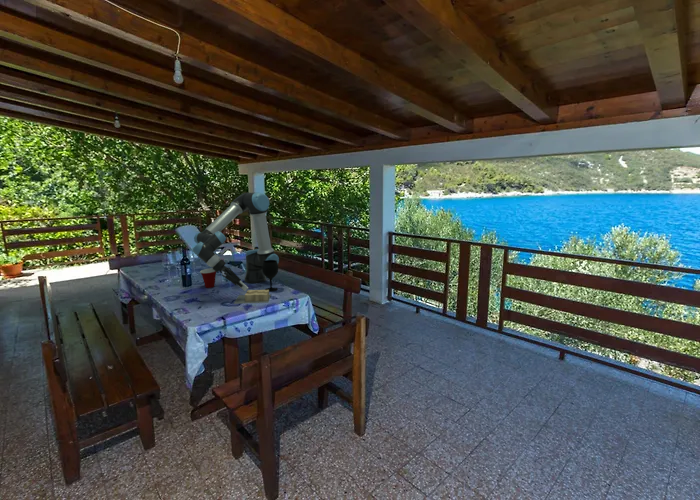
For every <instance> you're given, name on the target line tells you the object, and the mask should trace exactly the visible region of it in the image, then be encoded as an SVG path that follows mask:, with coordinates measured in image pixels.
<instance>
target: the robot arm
mask: <svg viewBox="0 0 700 500" xmlns="http://www.w3.org/2000/svg"><path fill="white" fill-rule="evenodd" d="M269 206H270V200H269V197H268V196H267V195H266V194H265V193H262V192H244V193H242V194H240V195H238V196H237V197H236V198H235V199H233V201H231V202H230V205H229V206H228V207H227V208H226V209H225V210H224V211H223V212H222V213H221V214H220V215H219V216H218V217H216V219H214V221H213V222H211V223H210V224H209V225H208V226H207V227H206V228H205V229H204V230H203V231H202V232H198V233H195V235H193V241H194V242H195V244H196V245H194V247H193V248H192V253H194V254H195V255H196V256H197V257H198V258H199V259H200V260H201V261H203V262H204V263H205V264H206V266H209V268H213V270H215V271H216V273H218V272H220V274H222V275H221V276H222V277H223V278H225V279H226V280H228V281H229V282H231V283H232V284H234V285H235V286H238V287H239V288H240V289H241V290H243V292H247V291H248V290H249V287H248V285H246V284H245V283H247V284H259V283H260V284H261V283H263V282H266V281H267V277H266V276H265V275H264V274H263V271H262V265H263V261H265V260H276V261H277V263H278V264H279V262H280V258H279V256H278V255H277V254H276V253H275V250H274V248H273V247H272V245H271V239H270V233H269V228H268V221H267V216H266V214H267V213H268V209H269ZM245 211H249V215H250V216H251V217H252V219H253V220H252V221H253V225H254V230H255V231H254V232H255V236H256V242H257V247H258V248H257V249H256V248H255V249H249V250H247V251H245V263H246V273H245V275H244V282H245V283H244V282H243V281H242V278H240V277H239V276H238V275H237V274H236V273H235V272H234V271H233V270H232V268H230V267H227V266H226V261H224V260H223V259H221V257H220V256H218V254H216V253H215V251H216V250H217V249H218V248H220V246H222V245H223V244H224V242H226V240H227V239H226V238H227V237H226V236H225V235H224V233H222V231H223V230H224V229H225V227H227V226H228V225H229V224H230V223H231V222H232V221H233V220H234V219H236V217H237V216H238V215H239V214H240V215H241V214H243V213H244V212H245Z"/></svg>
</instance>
